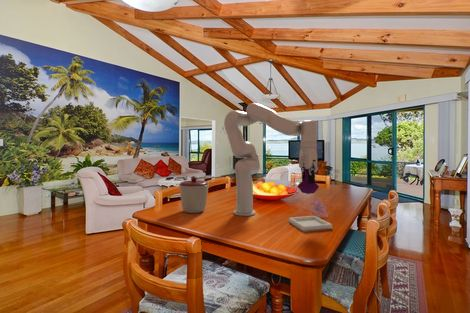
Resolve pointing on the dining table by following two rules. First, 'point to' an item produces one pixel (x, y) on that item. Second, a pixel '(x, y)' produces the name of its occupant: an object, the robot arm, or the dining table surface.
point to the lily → (318, 207)
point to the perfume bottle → (307, 184)
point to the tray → (310, 223)
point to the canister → (193, 195)
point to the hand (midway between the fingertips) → (308, 181)
